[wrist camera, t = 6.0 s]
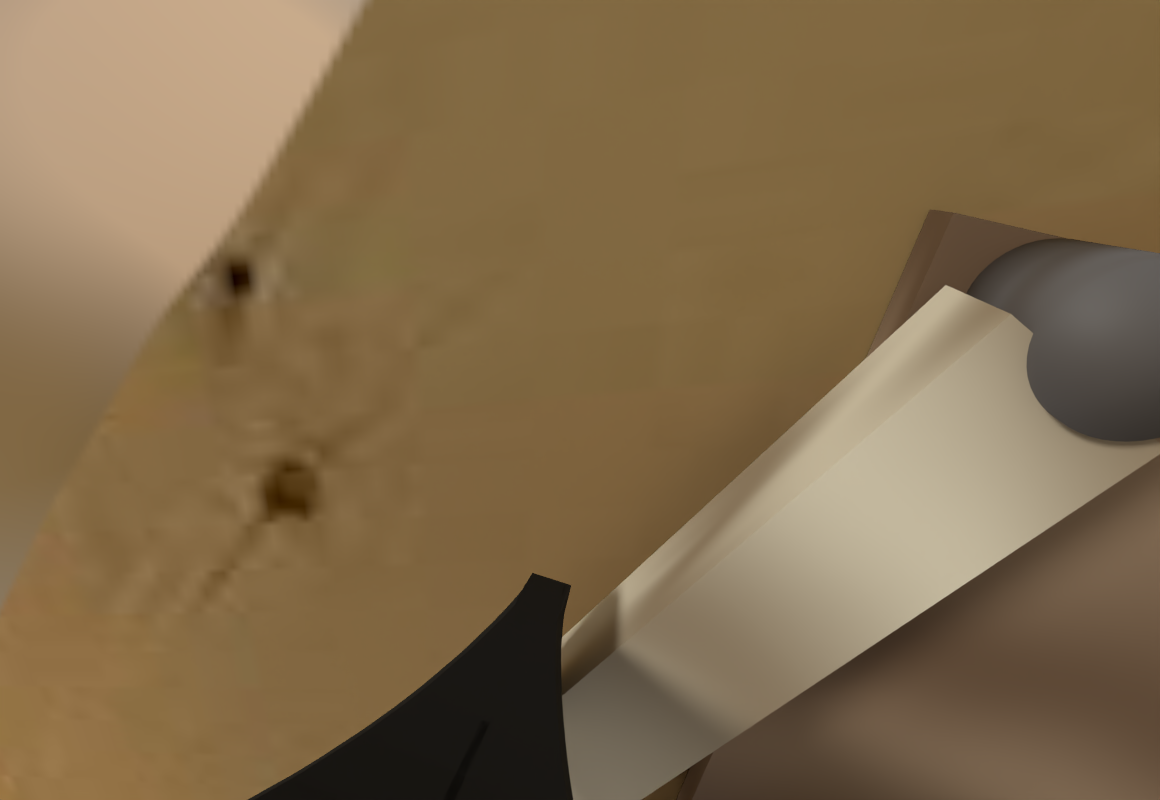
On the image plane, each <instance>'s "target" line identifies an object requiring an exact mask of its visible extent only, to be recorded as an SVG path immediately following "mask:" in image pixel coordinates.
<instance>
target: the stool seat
mask: <svg viewBox="0 0 1160 800" xmlns="http://www.w3.org/2000/svg"><path fill="white" fill-rule="evenodd" d="M1054 238H1062V237H1058V236H1053V235H1049V234H1044V233H1040V232H1036V231H1031V230H1027V229H1023V228H1018V227H1014V226H1009V225H1005V224H1001V223H996V222H992V221H988V220H983V219H979V218H974V217H970V216H966V215H961V214H957V213H952V212H944V211H936V210H930V211H929V213H928V215H927V218H926V220H925V222H924V224H923V227H922V229H921V231H920V234H919V236H918V238H917V241H916V243H915V245H914V248H913V250H912V252H911V255H910V257H909V259H908V262H907V264H906V266H905V269H904V271H903V273H902V276H901V278H900V280H899V283H898V285H897V287H896V290H895V292H894V294H893V297H892V299H891V301H890V304H889V306H888V308H887V311H886V313H885V315H884V318H883V320H882V322H881V325H880V327H879V329H878V332H877V334H876V336H875V339H874V341H873V343H872V345H871V348H870V350H869V352H868V355H867V357H868V356H869V355H870V354H871V353H872V352H873V351H875V350H876V349H877V348H878V347H879V346H880V345H881V344H882V343H883V342H884V341H885V340H887V339H888V338H889V337H890V336H891V335H892V334H893V333H894V332H895V331H896V330H897V329H899V328H900V327H901V326H902V325H903V324H904V323H905V322H906V321H907V320H908V319H909V318H910V317H912V316H913V315H914V314H915V313H916V312H917V311H918V310H919V309H920V308H921V307H922V306H924V305H925V304H926V303H927V302H928V301H929V300H930V299H931V298H932V297H933V296H934V295H936V294H937V293H938V292H939V291H940V290H941V289H942V288H943V287H944V286H945V285H947V286H949V287H952V288H954V289H956V290H958V291H961V292H963V293H965V294H966V293H967V291H968V289H969V288H970V286H971V284H972V283H973V281H974V280H975V279H976V278H977V276H978V275H979V274H980V273H981V272H982V271H983V270H984V269H985V268H986V267H987V266H988V265H989V264H990V263H992V262H993V261H994V260H995V259H997V258H998V257H1000V256H1001V255H1003V254H1004V253H1006V252H1008V251H1010V250H1012V249H1014V248H1016V247H1019V246H1021V245H1024V244H1026V243H1030V242H1034V241H1038V240H1044V239H1054ZM1064 239H1066V238H1064ZM867 357H866V358H867ZM1155 440H1157V441H1158V442H1159V443H1160V438H1155ZM676 800H1160V454H1159V455H1158V456H1156V457H1155V458H1153V459H1152V460H1150V461H1149V462H1147V463H1146V464H1144V465H1143V466H1141V467H1140V468H1138V469H1137V470H1135V471H1134V472H1132V473H1131V474H1129V475H1128V476H1126V477H1125V478H1123V479H1122V480H1120V481H1119V482H1117V483H1116V484H1114V485H1113V486H1111V487H1110V488H1108V489H1107V490H1105V491H1104V492H1102V493H1101V494H1099V495H1098V496H1096V497H1095V498H1093V499H1092V500H1090V501H1089V502H1087V503H1086V504H1084V505H1083V506H1081V507H1080V508H1078V509H1077V510H1075V511H1074V512H1072V513H1071V514H1069V515H1068V516H1066V517H1065V518H1063V519H1062V520H1060V521H1059V522H1057V523H1056V524H1054V525H1053V526H1051V527H1050V528H1048V529H1047V530H1045V531H1044V532H1042V533H1041V534H1039V535H1038V536H1036V537H1035V538H1033V539H1032V540H1030V541H1029V542H1027V543H1026V544H1024V545H1023V546H1021V547H1020V548H1018V549H1017V550H1015V551H1014V552H1012V553H1011V554H1009V555H1008V556H1006V557H1005V558H1003V559H1002V560H1000V561H999V562H997V563H996V564H994V565H993V566H991V567H990V568H988V569H987V570H985V571H984V572H982V573H981V574H979V575H978V576H976V577H975V578H973V579H972V580H970V581H969V582H967V583H966V584H964V585H963V586H961V587H960V588H958V589H957V590H955V591H954V592H952V593H951V594H949V595H948V596H946V597H945V598H943V599H942V600H940V601H939V602H937V603H936V604H934V605H933V606H931V607H930V608H928V609H927V610H925V611H924V612H922V613H921V614H919V615H918V616H916V617H915V618H913V619H912V620H910V621H909V622H907V623H906V624H904V625H903V626H901V627H900V628H898V629H897V630H895V631H894V632H892V633H891V634H889V635H888V636H886V637H885V638H883V639H882V640H880V641H879V642H877V643H876V644H874V645H873V646H871V647H870V648H868V649H867V650H865V651H864V652H862V653H861V654H859V655H858V656H856V657H855V658H853V659H852V660H850V661H849V662H847V663H846V664H844V665H843V666H841V667H840V668H838V669H837V670H835V671H834V672H832V673H831V674H829V675H828V676H826V677H825V678H823V679H822V680H820V681H819V682H817V683H816V684H814V685H813V686H811V687H810V688H808V689H807V690H805V691H804V692H802V693H801V694H799V695H798V696H796V697H795V698H793V699H792V700H790V701H789V702H787V703H786V704H784V705H783V706H781V707H780V708H778V709H777V710H775V711H774V712H772V713H771V714H769V715H768V716H766V717H765V718H763V719H762V720H760V721H759V722H757V723H756V724H754V725H753V726H751V727H750V728H748V729H747V730H745V731H744V732H742V733H741V734H739V735H738V736H736V737H735V738H733V739H732V740H730V741H729V742H727V743H726V744H724V745H723V746H721V747H720V748H718V749H717V750H715V751H714V752H712V753H711V754H709V755H708V756H706V757H705V758H703V759H702V760H700V761H699V762H697V763H696V764H694V765H693V766H691V767H690V769H689V771H688V774H687V776H686V778H685V781H684V783H683V785H682V788H681V790H680V792H679V795H678V797H677V799H676Z"/></svg>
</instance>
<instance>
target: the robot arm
mask: <svg viewBox="0 0 1160 800" xmlns="http://www.w3.org/2000/svg"><path fill="white" fill-rule="evenodd" d="M570 588H571V585H568V584H565V583H562V582H559V581H556V580H553V579H550V578H547V577H543V576H540V575H537V574H534V573H532V575H531V576H530V578H529V580H528V581H527V583H526V584H525V586H524V588H523V590H522V591H521V592H520V593H519V594H518V596H517V597H516V598H515V599H514V600H513V601H512V603H511V604H510V605H509V606H508V607H507V608H506V609H505V610H504V611H503V612H502V613H501V614H500V615H499V616H498V617H497V618H496V620H495V621H494V622H493V623H492V624H491V625H490V626H488V627H487V628H486V629H485V630H484V631H483V632H482V633H481V634H480V635H479V636H478V637H477V638H476V639H475V640H474V641H473V642H472V643H471V644H470V645H469V646H468V647H467V648H466V649H464V650H463V651H462V652H461V653H460V654H459V655H458V656H457V657H455V658H454V659H453V660H452V661H451V662H450V663H448V664H447V665H446V666H445V667H444V668H442V669H441V670H440V671H439V672H438V673H437V674H435V675H434V676H433V677H432V678H431V679H430V680H428V681H427V682H426V683H425V684H424V685H422V686H421V687H420V688H419V689H417V690H416V691H415V692H414V693H412V694H411V695H410V696H408V697H407V698H406V699H405V700H403V701H402V702H401V703H399V704H398V705H397V706H395V707H394V708H393V709H391V710H390V711H388V712H387V713H386V714H384V715H383V716H381V717H380V718H379V719H377V720H376V721H375V722H373V723H372V724H370V725H369V726H367V727H366V728H365V729H363V730H362V731H360V732H359V733H357V734H356V735H354V736H353V737H351V738H349V739H348V740H346V741H345V742H343V743H342V744H340V745H339V746H337V747H336V748H334V749H333V750H331V751H330V752H328V753H327V754H325V755H324V756H322V757H320V758H319V759H317V760H316V761H314V762H312V763H311V764H309V765H308V766H306V767H304V768H303V769H301V770H299V771H298V772H296V773H294V774H293V775H291V776H289V777H287V778H286V779H284V780H282V781H280V782H278V783H277V784H275V785H273V786H271V787H270V788H268V789H266V790H264V791H262V792H261V793H259V794H257V795H255V796H253V797H252V798H250V799H248V800H573V795H572V788H571V782H570V775H569V767H568V759H567V751H566V741H565V730H564V718H563V704H562V676H561V645H562V629H563V619H564V612H565V608H566V604H567V600H568V596H569V592H570Z"/></svg>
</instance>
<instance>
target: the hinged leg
mask: <svg viewBox="0 0 1160 800" xmlns="http://www.w3.org/2000/svg"><path fill="white" fill-rule="evenodd" d="M1155 438H1160V253H1154V252H1148V251H1142V250H1136V249H1129V248H1123V247H1117V246H1111V245H1105V244H1098V243H1092V242H1086V241H1080V240H1074V239H1064V238H1054V239H1044V240H1038V241H1034V242H1030V243H1026V244H1024V245H1021V246H1019V247H1016V248H1014V249H1012V250H1010V251H1008V252H1006V253H1004V254H1003V255H1001V256H1000V257H998V258H997V259H995V260H994V261H993V262H992V263H990V264H989V265H988V266H987V267H986V268H985V269H984V270H983V271H982V272H981V273H980V274H979V275H978V276H977V278H976V279H975V280H974V281H973V283H972V284H971V286H970V288H969V289H968V291H967V293H966V294H965V293H963V292H961V291H958V290H956V289H954V288H952V287H949V286H947V285H945V286H944V287H943V288H942V289H941V290H940V291H939V292H938V293H937V294H936V295H934V296H933V297H932V298H931V299H930V300H929V301H928V302H927V303H926V304H925V305H924V306H922V307H921V308H920V309H919V310H918V311H917V312H916V313H915V314H914V315H913V316H912V317H910V318H909V319H908V320H907V321H906V322H905V323H904V324H903V325H902V326H901V327H900V328H899V329H897V330H896V331H895V332H894V333H893V334H892V335H891V336H890V337H889V338H888V339H887V340H885V341H884V342H883V343H882V344H881V345H880V346H879V347H878V348H877V349H876V350H875V351H873V352H872V353H871V354H870V355H869V356H868V357H867V358H866V359H865V360H864V361H863V362H861V363H860V364H859V365H858V366H857V367H856V368H855V369H854V370H853V371H852V372H851V373H850V374H848V375H847V376H846V377H845V378H844V379H843V380H842V381H841V382H840V383H839V384H838V385H836V386H835V387H834V388H833V389H832V390H831V391H830V392H829V393H828V394H827V395H826V396H824V397H823V398H822V399H821V400H820V401H819V402H818V403H817V404H816V405H815V406H814V407H812V408H811V409H810V410H809V411H808V412H807V413H806V414H805V415H804V416H803V417H802V418H800V419H799V420H798V421H797V422H796V423H795V424H794V425H793V426H792V427H791V428H790V429H789V430H787V431H786V432H785V433H784V434H783V435H782V436H781V437H780V438H779V439H778V440H777V441H775V442H774V443H773V444H772V445H771V446H770V447H769V448H768V449H767V450H766V451H765V452H763V453H762V454H761V455H760V456H759V457H758V458H757V459H756V460H755V461H754V462H753V463H751V464H750V465H749V466H748V467H747V468H746V469H745V470H744V471H743V472H742V473H741V474H740V475H738V476H737V477H736V478H735V479H734V480H733V481H732V482H731V483H730V484H729V485H728V486H726V487H725V488H724V489H723V490H722V491H721V492H720V493H719V494H718V495H717V496H716V497H714V498H713V499H712V500H711V501H710V502H709V503H708V504H707V505H706V506H705V507H704V508H702V509H701V510H700V511H699V512H698V513H697V514H696V515H695V516H694V517H693V518H692V519H691V520H689V521H688V522H687V523H686V524H685V525H684V526H683V527H682V528H681V529H680V530H679V531H677V532H676V533H675V534H674V535H673V536H672V537H671V538H670V539H669V540H668V541H667V542H665V543H664V544H663V545H662V546H661V547H660V548H659V549H658V550H657V551H656V552H655V553H653V554H652V555H651V556H650V557H649V558H648V559H647V560H646V561H645V562H644V563H643V564H642V565H640V566H639V567H638V568H637V569H636V570H635V571H634V572H633V573H632V574H631V575H630V576H628V577H627V578H626V579H625V580H624V581H623V582H622V583H621V584H620V585H619V586H618V587H616V588H615V589H614V590H613V591H612V592H611V593H610V594H609V595H608V596H607V597H606V598H604V599H603V600H602V601H601V602H600V603H599V604H598V605H597V606H596V607H595V608H594V609H593V610H591V611H590V612H589V613H588V614H587V615H586V616H585V617H584V618H583V619H582V620H581V621H579V622H578V623H577V624H576V625H575V626H574V627H573V628H572V629H571V630H570V631H569V632H567V633H566V634H565V635H564V636H563V637H562V645H561V676H562V704H563V718H564V730H565V741H566V751H567V759H568V767H569V775H570V782H571V788H572V795H573V800H642V799H643V798H645V797H646V796H648V795H649V794H651V793H652V792H654V791H655V790H657V789H658V788H660V787H661V786H663V785H664V784H666V783H667V782H669V781H670V780H672V779H673V778H675V777H676V776H678V775H679V774H681V773H682V772H684V771H685V770H687V769H688V768H690V767H691V766H693V765H694V764H696V763H697V762H699V761H700V760H702V759H703V758H705V757H706V756H708V755H709V754H711V753H712V752H714V751H715V750H717V749H718V748H720V747H721V746H723V745H724V744H726V743H727V742H729V741H730V740H732V739H733V738H735V737H736V736H738V735H739V734H741V733H742V732H744V731H745V730H747V729H748V728H750V727H751V726H753V725H754V724H756V723H757V722H759V721H760V720H762V719H763V718H765V717H766V716H768V715H769V714H771V713H772V712H774V711H775V710H777V709H778V708H780V707H781V706H783V705H784V704H786V703H787V702H789V701H790V700H792V699H793V698H795V697H796V696H798V695H799V694H801V693H802V692H804V691H805V690H807V689H808V688H810V687H811V686H813V685H814V684H816V683H817V682H819V681H820V680H822V679H823V678H825V677H826V676H828V675H829V674H831V673H832V672H834V671H835V670H837V669H838V668H840V667H841V666H843V665H844V664H846V663H847V662H849V661H850V660H852V659H853V658H855V657H856V656H858V655H859V654H861V653H862V652H864V651H865V650H867V649H868V648H870V647H871V646H873V645H874V644H876V643H877V642H879V641H880V640H882V639H883V638H885V637H886V636H888V635H889V634H891V633H892V632H894V631H895V630H897V629H898V628H900V627H901V626H903V625H904V624H906V623H907V622H909V621H910V620H912V619H913V618H915V617H916V616H918V615H919V614H921V613H922V612H924V611H925V610H927V609H928V608H930V607H931V606H933V605H934V604H936V603H937V602H939V601H940V600H942V599H943V598H945V597H946V596H948V595H949V594H951V593H952V592H954V591H955V590H957V589H958V588H960V587H961V586H963V585H964V584H966V583H967V582H969V581H970V580H972V579H973V578H975V577H976V576H978V575H979V574H981V573H982V572H984V571H985V570H987V569H988V568H990V567H991V566H993V565H994V564H996V563H997V562H999V561H1000V560H1002V559H1003V558H1005V557H1006V556H1008V555H1009V554H1011V553H1012V552H1014V551H1015V550H1017V549H1018V548H1020V547H1021V546H1023V545H1024V544H1026V543H1027V542H1029V541H1030V540H1032V539H1033V538H1035V537H1036V536H1038V535H1039V534H1041V533H1042V532H1044V531H1045V530H1047V529H1048V528H1050V527H1051V526H1053V525H1054V524H1056V523H1057V522H1059V521H1060V520H1062V519H1063V518H1065V517H1066V516H1068V515H1069V514H1071V513H1072V512H1074V511H1075V510H1077V509H1078V508H1080V507H1081V506H1083V505H1084V504H1086V503H1087V502H1089V501H1090V500H1092V499H1093V498H1095V497H1096V496H1098V495H1099V494H1101V493H1102V492H1104V491H1105V490H1107V489H1108V488H1110V487H1111V486H1113V485H1114V484H1116V483H1117V482H1119V481H1120V480H1122V479H1123V478H1125V477H1126V476H1128V475H1129V474H1131V473H1132V472H1134V471H1135V470H1137V469H1138V468H1140V467H1141V466H1143V465H1144V464H1146V463H1147V462H1149V461H1150V460H1152V459H1153V458H1155V457H1156V456H1158V455H1159V454H1160V443H1159V442H1158V441H1157V440H1155Z"/></svg>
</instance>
